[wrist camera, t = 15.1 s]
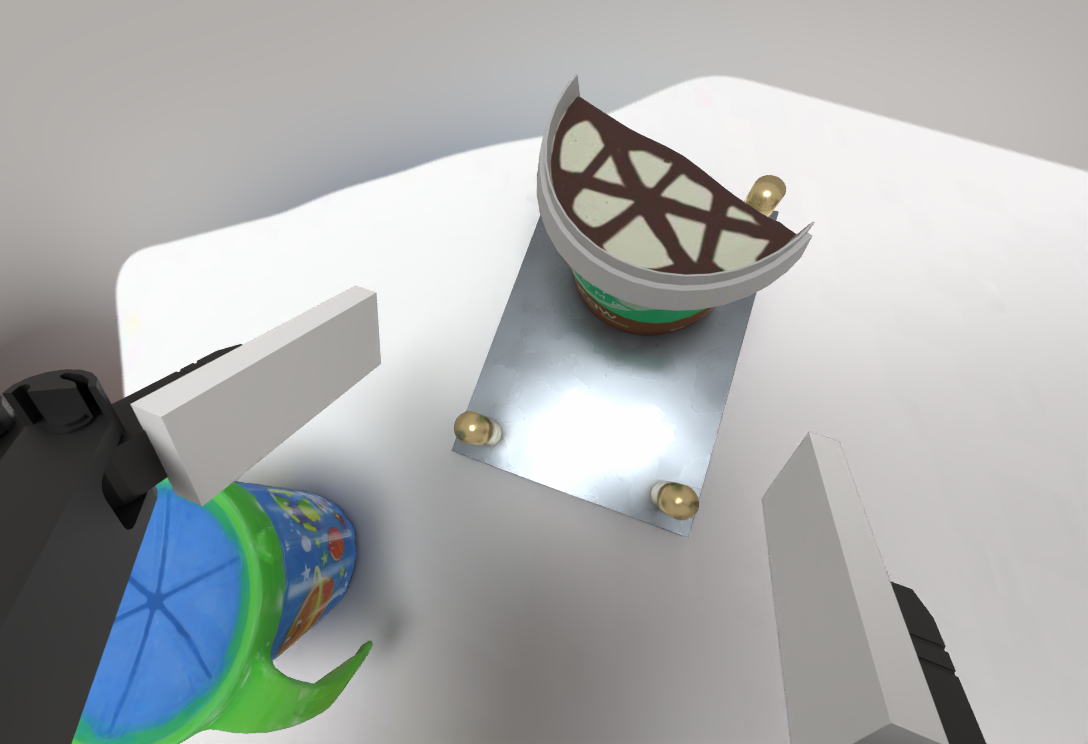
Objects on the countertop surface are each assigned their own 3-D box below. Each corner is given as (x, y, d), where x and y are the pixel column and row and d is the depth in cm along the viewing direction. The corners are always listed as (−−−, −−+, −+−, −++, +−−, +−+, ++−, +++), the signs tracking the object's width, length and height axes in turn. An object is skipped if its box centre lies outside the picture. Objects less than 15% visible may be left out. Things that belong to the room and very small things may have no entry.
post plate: (768, 224, 28) (811, 168, 23) (682, 533, 25) (708, 552, 19) (562, 175, 30) (556, 112, 25) (459, 451, 27) (426, 448, 22)
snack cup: (168, 532, 28) (-65, 570, 18) (284, 407, 29) (123, 378, 19) (324, 726, 25) (145, 904, 15) (450, 578, 25) (360, 651, 16)
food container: (511, 275, 27) (468, 171, 18) (574, 205, 28) (565, 67, 18) (670, 400, 25) (723, 359, 15) (736, 319, 25) (828, 230, 16)
